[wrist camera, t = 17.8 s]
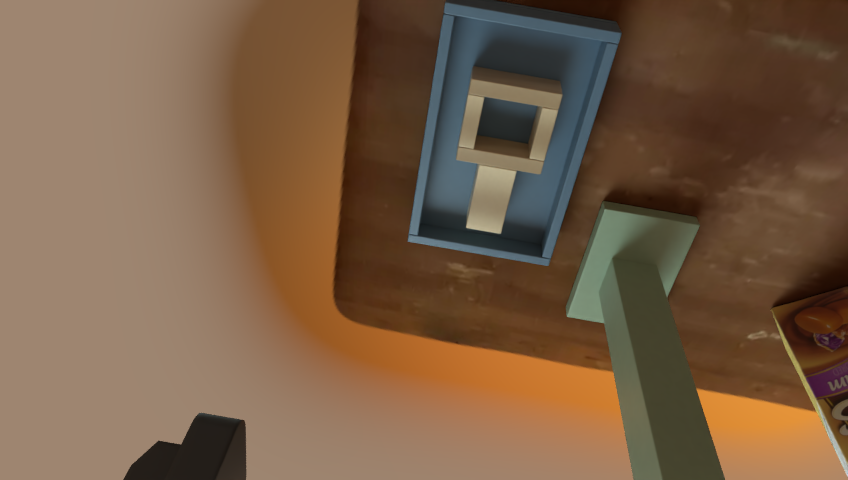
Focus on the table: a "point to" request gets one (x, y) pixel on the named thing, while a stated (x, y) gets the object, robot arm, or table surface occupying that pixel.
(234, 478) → the robot arm
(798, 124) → the table surface
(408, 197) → the table surface
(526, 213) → the tray
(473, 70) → the beige square frame paddle
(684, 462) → the stand
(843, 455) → the candy box
